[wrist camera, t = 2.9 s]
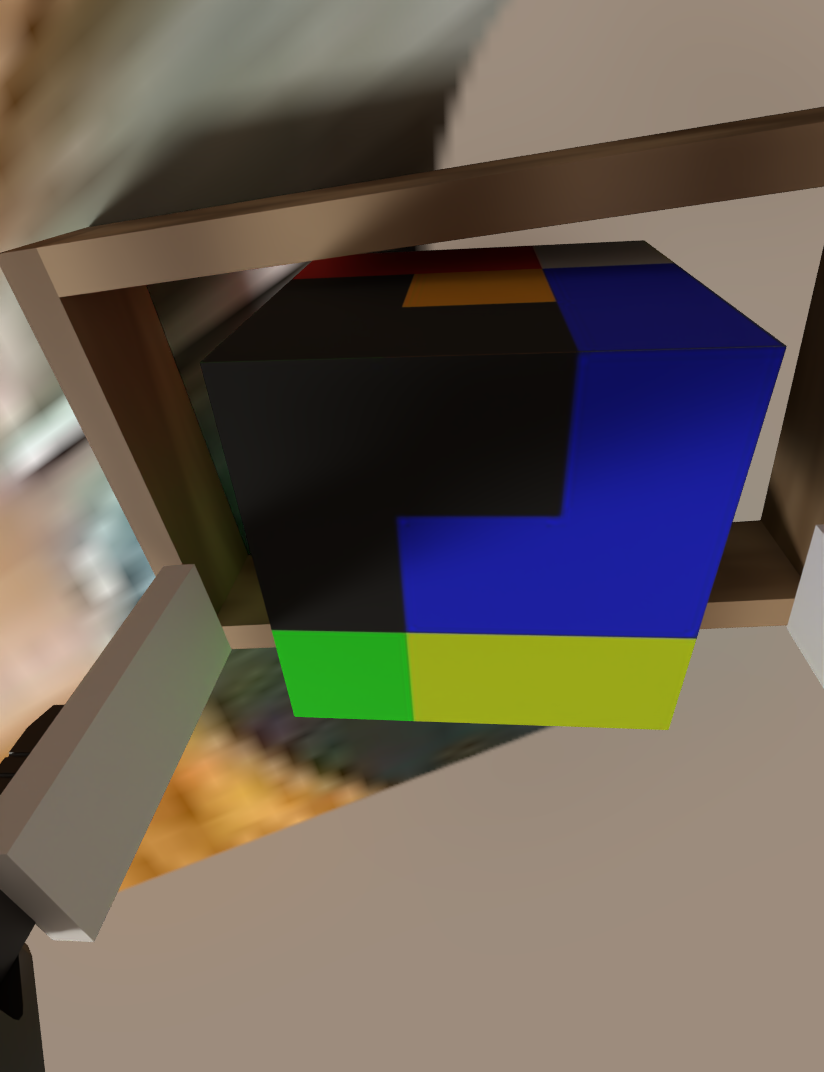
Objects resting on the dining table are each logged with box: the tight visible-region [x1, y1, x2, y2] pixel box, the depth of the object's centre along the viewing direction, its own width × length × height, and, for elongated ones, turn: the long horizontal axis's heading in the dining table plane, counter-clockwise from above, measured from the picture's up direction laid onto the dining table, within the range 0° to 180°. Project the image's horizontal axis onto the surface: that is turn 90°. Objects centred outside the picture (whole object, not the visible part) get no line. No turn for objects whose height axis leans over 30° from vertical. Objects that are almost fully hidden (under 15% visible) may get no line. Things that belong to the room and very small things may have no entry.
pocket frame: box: [0, 107, 824, 649], centre depth 19 cm, size 23×14×4 cm, turn 98°
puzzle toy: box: [200, 240, 786, 730], centre depth 17 cm, size 10×10×10 cm
